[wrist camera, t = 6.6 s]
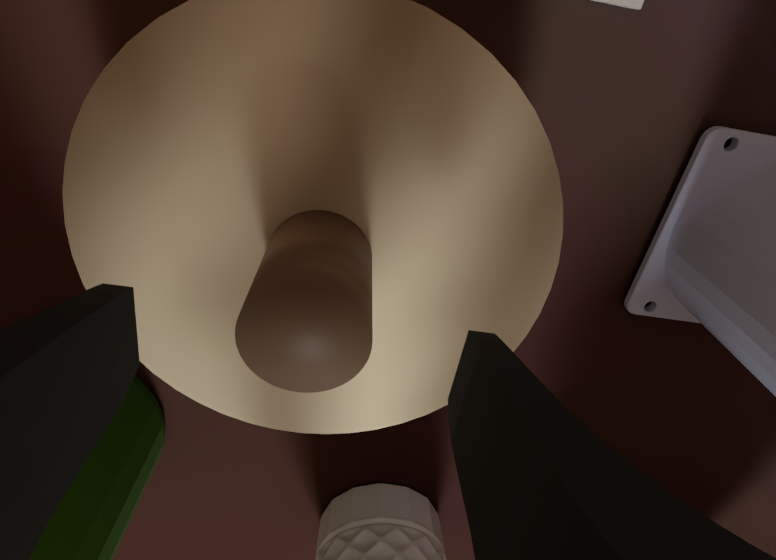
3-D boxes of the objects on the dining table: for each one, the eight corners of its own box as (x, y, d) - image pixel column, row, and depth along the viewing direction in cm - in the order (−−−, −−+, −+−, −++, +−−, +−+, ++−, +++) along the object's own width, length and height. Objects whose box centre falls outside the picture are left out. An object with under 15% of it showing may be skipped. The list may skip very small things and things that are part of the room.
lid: (629, 34, 13) (757, 52, 8) (486, 434, 19) (518, 555, 15) (38, -79, 11) (-160, -125, 7) (104, 397, 18) (23, 519, 14)
